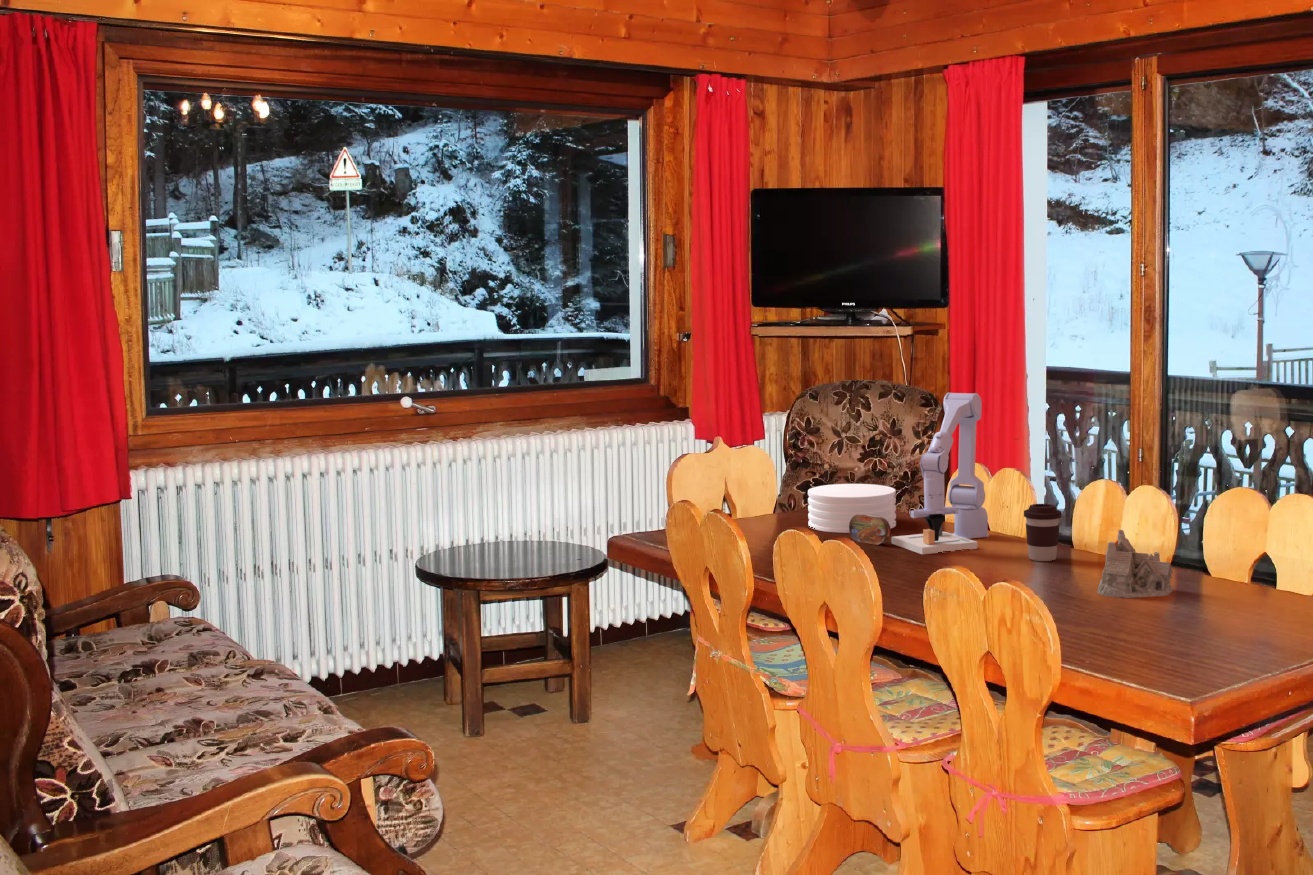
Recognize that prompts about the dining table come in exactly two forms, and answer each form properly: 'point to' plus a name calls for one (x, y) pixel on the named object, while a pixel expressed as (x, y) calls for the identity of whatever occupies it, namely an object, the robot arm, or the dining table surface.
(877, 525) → the tin
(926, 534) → the switch
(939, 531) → the gray rectangular block
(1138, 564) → the ceramic cottage
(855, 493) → the plate stack
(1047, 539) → the coffee cup
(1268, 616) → the dining table surface
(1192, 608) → the dining table surface
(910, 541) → the board
